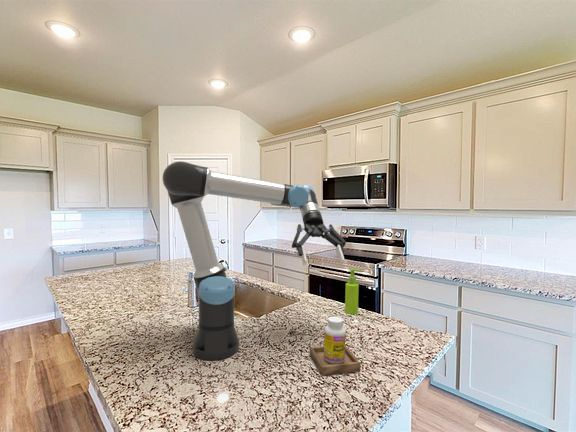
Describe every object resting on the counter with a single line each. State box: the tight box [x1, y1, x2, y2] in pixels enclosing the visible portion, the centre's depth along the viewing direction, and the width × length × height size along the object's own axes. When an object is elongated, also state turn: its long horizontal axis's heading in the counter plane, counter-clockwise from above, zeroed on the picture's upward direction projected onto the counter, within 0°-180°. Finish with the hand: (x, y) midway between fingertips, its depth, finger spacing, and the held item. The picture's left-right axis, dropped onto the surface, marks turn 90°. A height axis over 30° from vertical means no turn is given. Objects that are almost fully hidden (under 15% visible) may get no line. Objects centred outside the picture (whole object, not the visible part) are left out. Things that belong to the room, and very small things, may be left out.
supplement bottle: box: [323, 316, 347, 364], centre depth 93 cm, size 7×7×13 cm
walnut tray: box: [309, 345, 361, 377], centre depth 93 cm, size 12×12×2 cm
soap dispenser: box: [344, 268, 362, 315], centre depth 136 cm, size 6×7×20 cm
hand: (324, 262), depth 102 cm, fingers open, 13 cm apart
